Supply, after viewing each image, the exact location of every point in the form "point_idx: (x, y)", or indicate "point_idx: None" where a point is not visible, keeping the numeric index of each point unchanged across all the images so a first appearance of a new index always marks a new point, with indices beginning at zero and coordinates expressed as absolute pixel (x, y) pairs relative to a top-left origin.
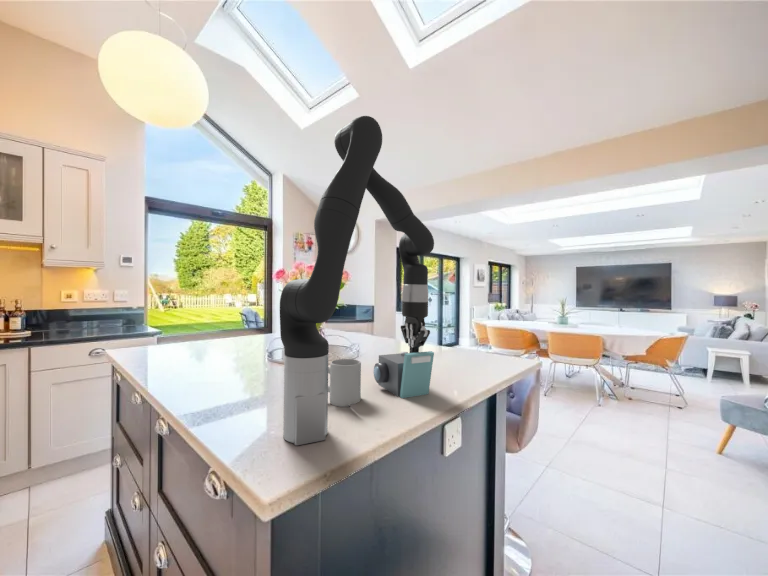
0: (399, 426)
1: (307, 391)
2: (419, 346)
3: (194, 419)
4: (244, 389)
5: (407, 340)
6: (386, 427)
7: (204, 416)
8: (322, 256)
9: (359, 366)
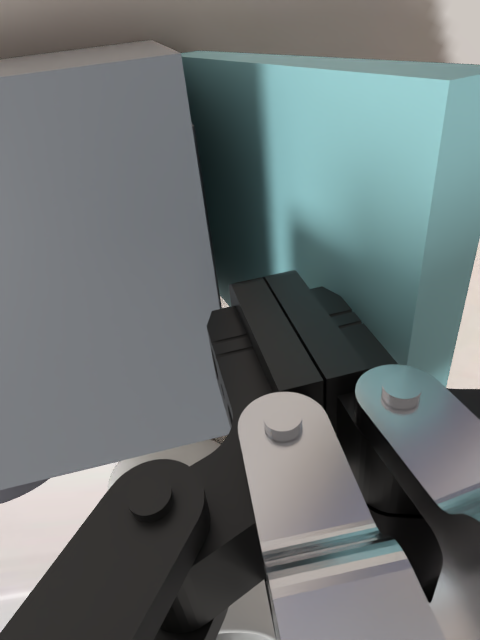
0: (474, 343)
1: None
2: (469, 402)
3: None
4: None
5: (222, 607)
6: (455, 380)
7: None
8: None
9: (251, 609)
